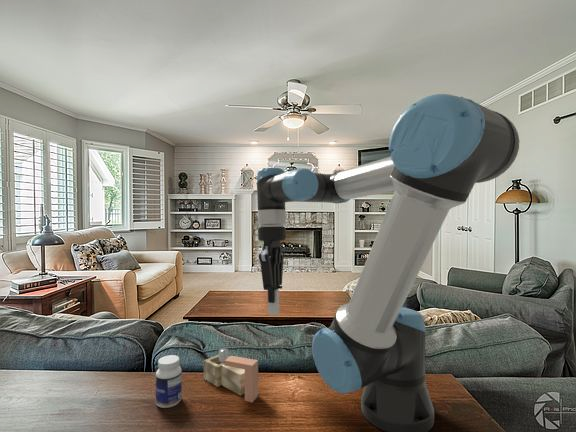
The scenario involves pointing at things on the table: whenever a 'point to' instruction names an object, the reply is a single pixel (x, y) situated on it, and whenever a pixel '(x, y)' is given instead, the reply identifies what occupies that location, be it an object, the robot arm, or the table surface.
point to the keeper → (246, 374)
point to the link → (224, 375)
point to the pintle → (223, 355)
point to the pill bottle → (168, 382)
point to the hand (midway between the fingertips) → (273, 313)
